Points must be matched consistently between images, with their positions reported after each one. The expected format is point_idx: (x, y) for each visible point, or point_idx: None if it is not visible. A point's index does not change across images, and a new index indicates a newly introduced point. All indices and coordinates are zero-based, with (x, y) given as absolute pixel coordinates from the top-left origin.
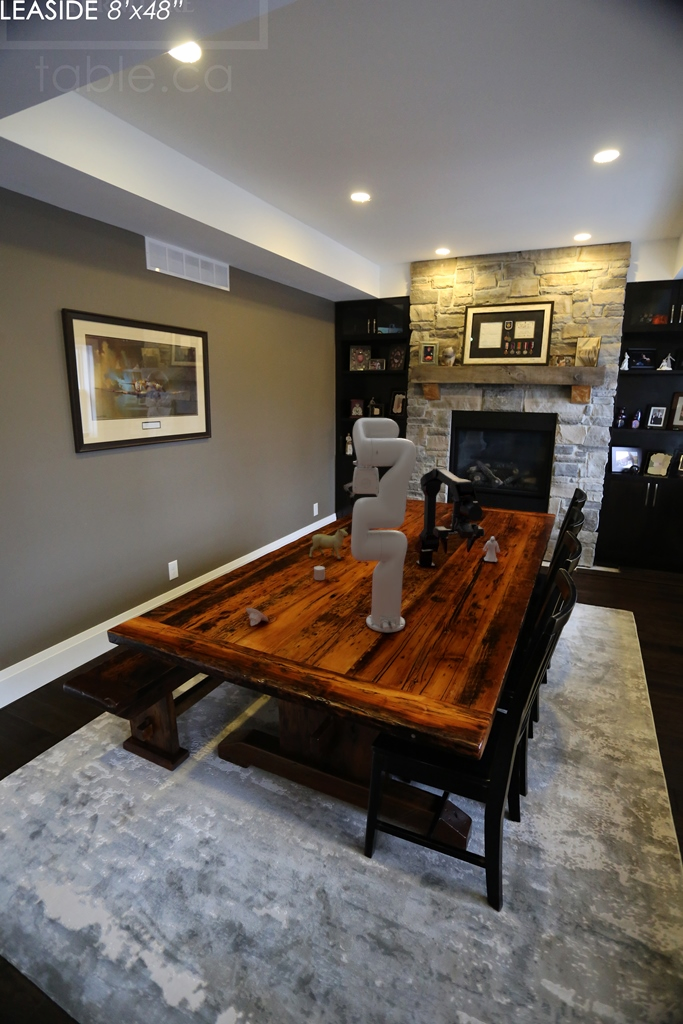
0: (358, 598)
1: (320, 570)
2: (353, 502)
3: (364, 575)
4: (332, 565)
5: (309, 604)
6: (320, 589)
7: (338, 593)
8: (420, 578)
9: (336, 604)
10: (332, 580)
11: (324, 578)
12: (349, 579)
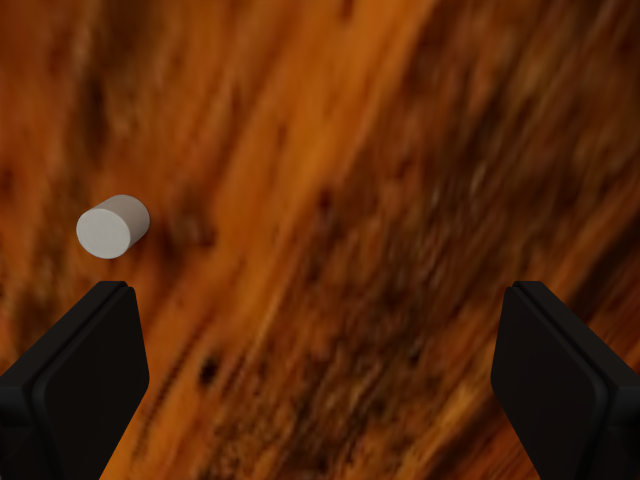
0: (298, 385)
1: (115, 256)
2: (110, 443)
3: (327, 168)
4: (157, 29)
5: (141, 430)
6: (153, 323)
7: (225, 352)
8: (583, 190)
9: (227, 427)
10: (186, 235)
11: (148, 224)
12: (259, 220)
